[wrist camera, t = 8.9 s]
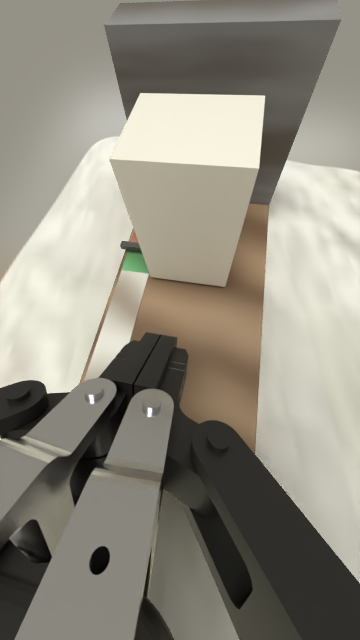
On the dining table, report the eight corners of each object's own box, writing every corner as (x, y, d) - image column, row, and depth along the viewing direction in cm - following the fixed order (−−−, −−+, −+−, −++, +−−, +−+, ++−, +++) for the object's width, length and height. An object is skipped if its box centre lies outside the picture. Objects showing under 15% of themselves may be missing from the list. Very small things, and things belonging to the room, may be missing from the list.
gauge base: (244, 500, 13) (541, 1082, 2) (66, 454, 14) (-338, 632, 3) (265, 183, 22) (333, -19, 11) (158, 176, 24) (129, -10, 13)
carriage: (225, 287, 16) (258, 168, 8) (114, 272, 17) (42, 154, 9) (234, 219, 18) (267, 73, 10) (136, 210, 19) (95, 72, 11)
